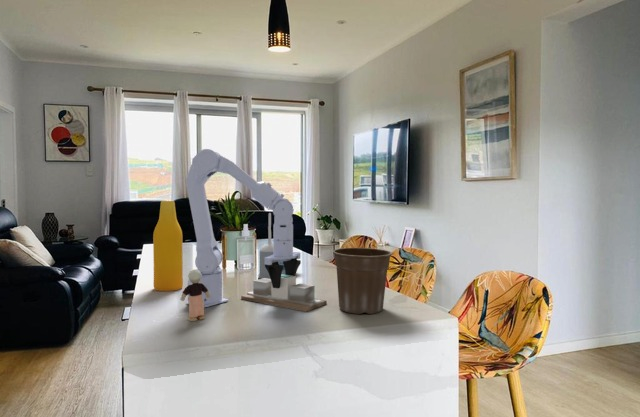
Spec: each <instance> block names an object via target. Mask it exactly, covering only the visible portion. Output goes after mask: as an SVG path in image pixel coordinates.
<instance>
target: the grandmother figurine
mask: <svg viewBox="0 0 640 417" xmlns="http://www.w3.org/2000/svg"><path fill="white" fill-rule="evenodd" d="M201 276H202V274H201V272H200V271H199V270H197V269H192V270H191V271H189V273H188V275H187V277H188V280H190V281H191V283H193V284H191V285H189V286H188V285H187V286H186V287H185V288H184V289H183V291H182V294H181V297H180V301H182V302H184V301H185V298H186V297H188V295H189V304H188V312H189V317H188V318H187V320H188V321H190V322H197V321H198V320H205V319H206V316H205V307H204V304H203V297H202V292H204V293H205V295H206V297H207V298H209V297H210V294H209V292H208V289H207V288H206V287H205V286H204V285H203V284H202V283H198V282H199V281H200V279H201V278H202V277H201Z"/></svg>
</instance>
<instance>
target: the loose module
mask: <svg viewBox="0 0 640 417" xmlns="http://www.w3.org/2000/svg"><path fill="white" fill-rule="evenodd" d="M293 285H297V276H296V275H295V276H292V275H285V274H281V283H280V288H273V286H272V282H271V297H277V298H282V299H290V286H293Z"/></svg>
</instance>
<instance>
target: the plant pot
mask: <svg viewBox="0 0 640 417" xmlns="http://www.w3.org/2000/svg"><path fill="white" fill-rule="evenodd" d="M332 253H333V255H334V265H335V268H336V276H337V277H336V279H337V280H336V282H337V292H338V294H337V296H338V307H339V309H340V311H343V312H344V313H348V314H356V315H362V314H363V313H364V314H365V313H366V314H367V315H371V314H377V313H378V314H379V313H381V312H383V310H384V302H385V292H386V284H387V276H388V269H389V268H390V262H391V256H393V252H391V251H389V250H386V249H381V248H372V247H371V248H370V247H342V248H336V249H332Z"/></svg>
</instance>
